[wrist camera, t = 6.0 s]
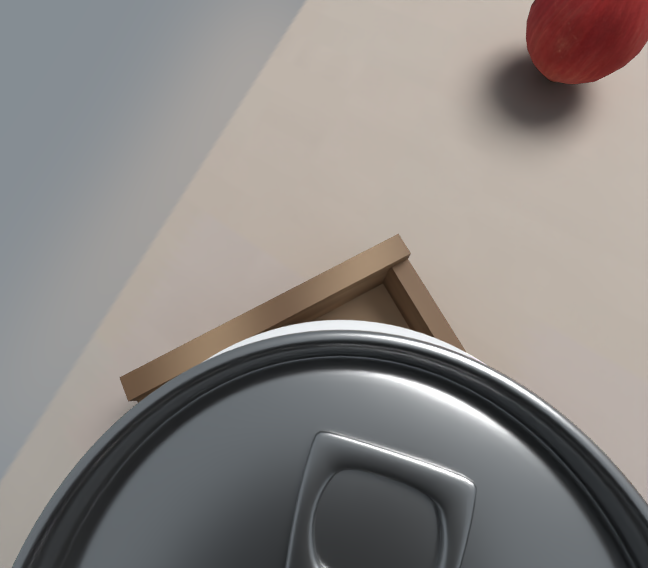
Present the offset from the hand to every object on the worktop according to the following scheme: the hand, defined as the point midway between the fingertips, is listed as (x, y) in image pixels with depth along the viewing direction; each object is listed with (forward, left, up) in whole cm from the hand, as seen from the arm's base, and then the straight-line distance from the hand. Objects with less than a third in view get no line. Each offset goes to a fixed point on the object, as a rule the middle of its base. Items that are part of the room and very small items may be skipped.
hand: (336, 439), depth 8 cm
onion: (+21, +11, -11) cm, 26 cm away
